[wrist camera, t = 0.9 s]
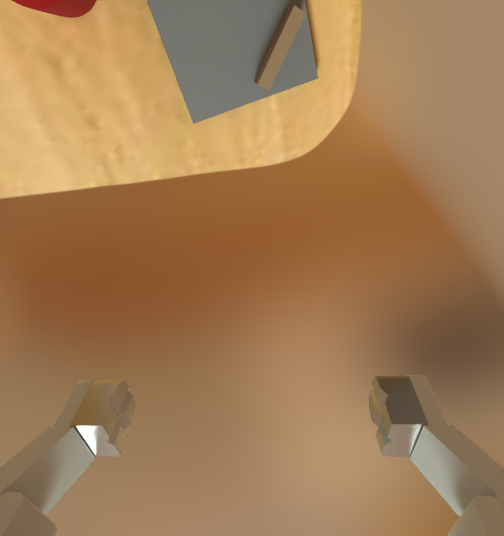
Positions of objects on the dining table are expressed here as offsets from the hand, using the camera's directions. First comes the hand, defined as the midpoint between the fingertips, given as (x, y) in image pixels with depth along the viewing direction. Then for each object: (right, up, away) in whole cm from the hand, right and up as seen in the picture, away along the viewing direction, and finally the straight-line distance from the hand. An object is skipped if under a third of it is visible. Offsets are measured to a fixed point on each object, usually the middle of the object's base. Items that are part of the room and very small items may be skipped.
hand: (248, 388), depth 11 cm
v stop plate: (-2, +31, +27) cm, 41 cm away
